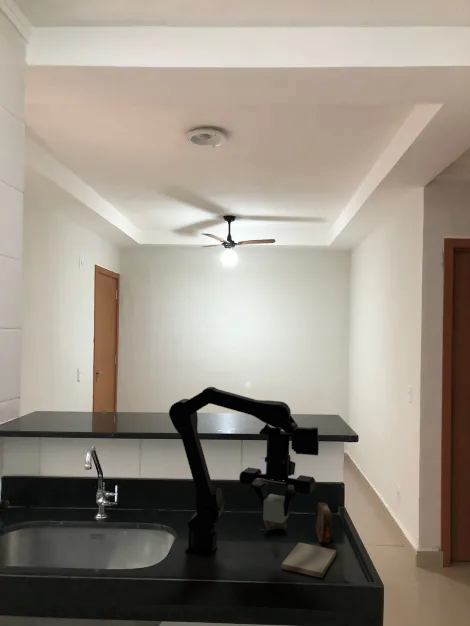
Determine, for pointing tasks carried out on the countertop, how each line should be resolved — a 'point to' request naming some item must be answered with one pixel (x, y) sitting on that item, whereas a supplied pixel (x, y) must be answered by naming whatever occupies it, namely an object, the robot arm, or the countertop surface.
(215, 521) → the robot arm
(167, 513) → the countertop surface
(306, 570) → the maple board
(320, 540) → the tin
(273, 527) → the beige lumpy figure
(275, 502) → the sage cube
